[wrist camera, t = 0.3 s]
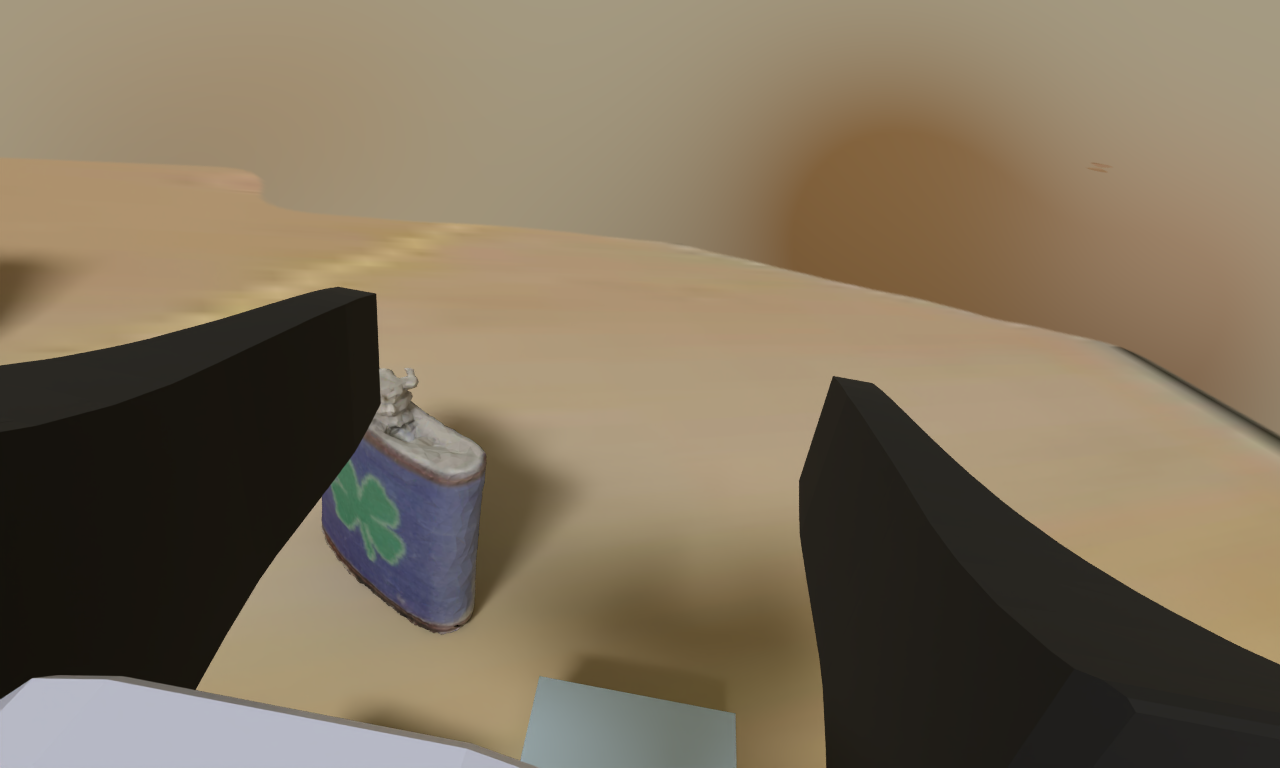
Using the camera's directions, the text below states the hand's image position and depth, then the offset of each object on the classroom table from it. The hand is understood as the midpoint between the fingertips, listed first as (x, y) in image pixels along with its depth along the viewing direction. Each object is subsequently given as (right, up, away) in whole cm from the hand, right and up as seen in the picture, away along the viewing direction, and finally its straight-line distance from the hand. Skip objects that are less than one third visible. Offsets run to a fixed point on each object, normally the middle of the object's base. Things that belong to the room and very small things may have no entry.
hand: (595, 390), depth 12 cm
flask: (-10, -8, +21) cm, 25 cm away
